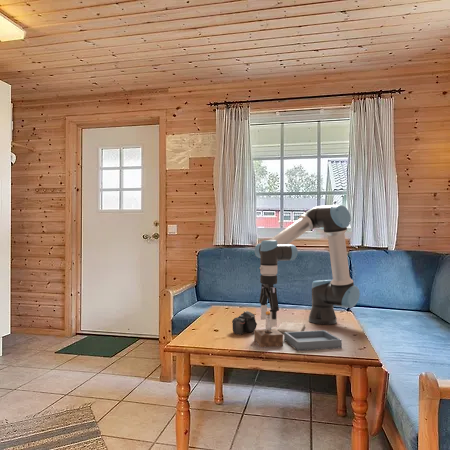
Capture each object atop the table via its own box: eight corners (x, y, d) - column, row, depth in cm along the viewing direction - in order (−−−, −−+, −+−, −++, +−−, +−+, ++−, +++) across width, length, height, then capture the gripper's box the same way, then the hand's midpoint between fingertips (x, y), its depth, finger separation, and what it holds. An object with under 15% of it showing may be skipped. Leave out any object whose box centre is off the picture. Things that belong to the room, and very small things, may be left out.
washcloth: (305, 327, 194) (305, 321, 194) (301, 336, 177) (301, 330, 177) (283, 325, 198) (283, 320, 198) (276, 334, 181) (276, 328, 181)
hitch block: (275, 339, 170) (275, 328, 170) (282, 346, 161) (283, 334, 161) (254, 340, 168) (254, 329, 168) (260, 347, 159) (260, 335, 159)
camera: (247, 336, 175) (248, 315, 175) (230, 333, 180) (230, 312, 181) (260, 330, 186) (261, 310, 186) (243, 327, 192) (243, 308, 192)
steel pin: (270, 342, 166) (270, 311, 166) (271, 344, 163) (271, 312, 164) (264, 342, 165) (265, 311, 166) (266, 344, 163) (266, 312, 163)
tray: (324, 337, 174) (324, 330, 174) (341, 348, 159) (341, 339, 159) (284, 339, 170) (284, 332, 170) (297, 350, 154) (298, 342, 155)
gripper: (253, 271, 176) (252, 316, 176) (269, 278, 152) (269, 330, 152) (268, 271, 178) (267, 316, 177) (286, 277, 154) (286, 329, 153)
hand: (268, 322), depth 165 cm, fingers open, 12 cm apart
